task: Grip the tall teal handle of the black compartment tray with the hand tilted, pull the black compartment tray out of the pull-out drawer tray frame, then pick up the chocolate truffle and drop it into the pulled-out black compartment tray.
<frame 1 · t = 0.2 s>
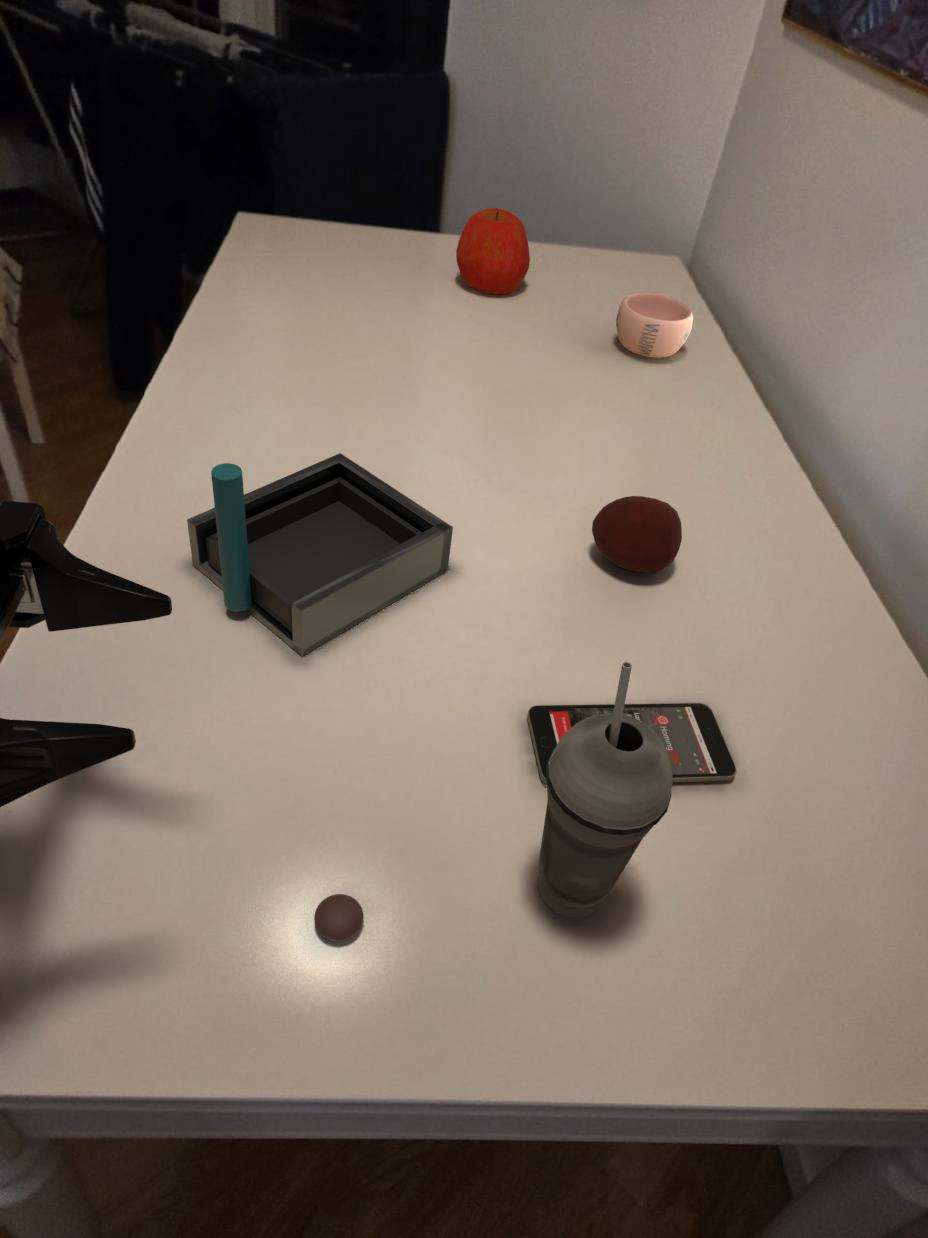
hand: (154, 667, 44), 18 cm above the table, tool horizontal, fingers open, 9 cm apart
chocolate truffle: (338, 925, 55), on the table
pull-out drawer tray: (322, 567, 79), on the table
potato: (627, 562, 85), on the table
apple: (489, 285, 131), on the table
beverage cup: (570, 887, 58), on the table
smartphone: (628, 747, 68), on the table
black compartment tray: (307, 506, 73), point 8 cm above the table, slide at 0.0 cm
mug: (646, 346, 121), on the table
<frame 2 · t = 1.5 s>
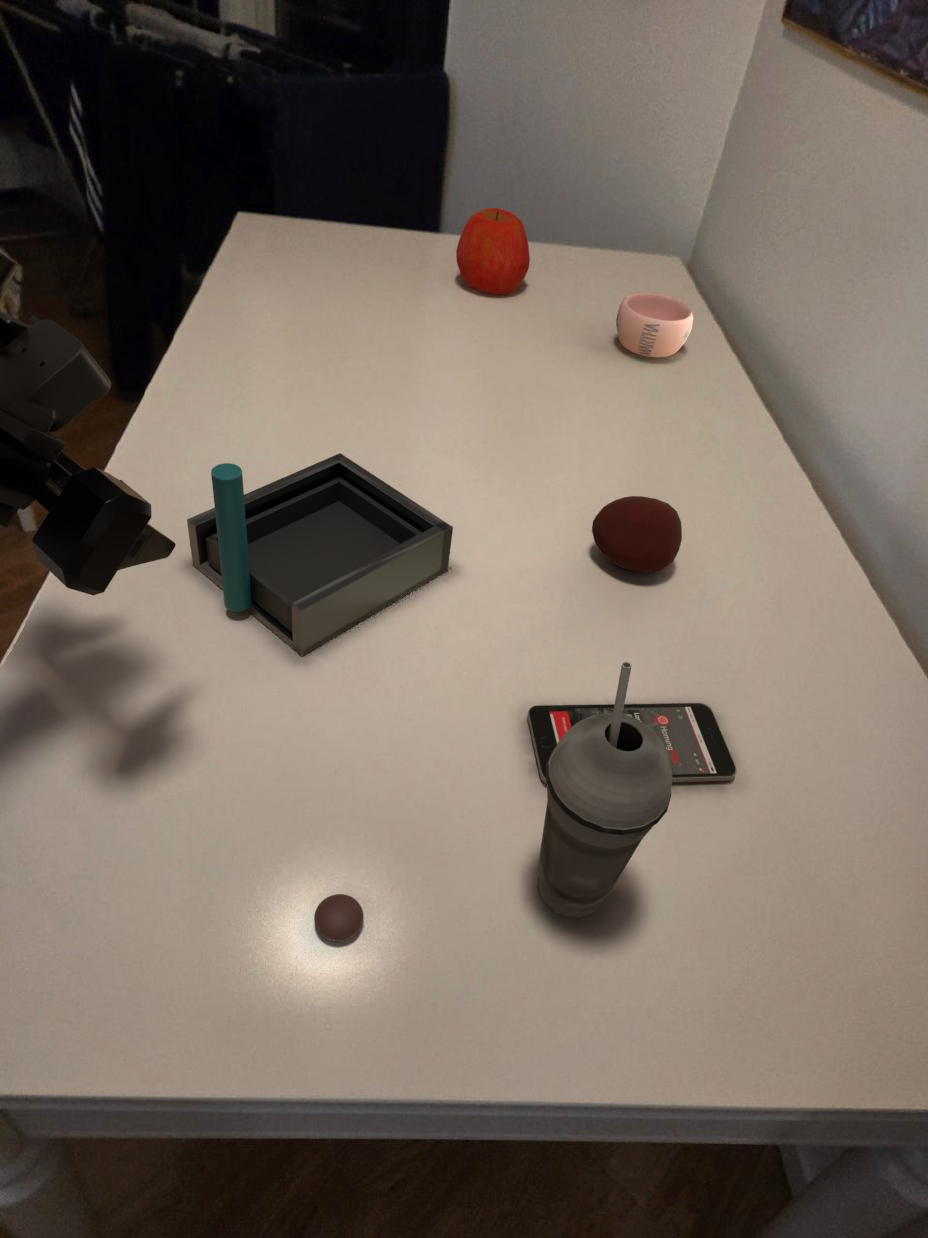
hand: (132, 517, 60), 13 cm above the table, tool tilted 45°, fingers open, 9 cm apart
nothing on the table moved.
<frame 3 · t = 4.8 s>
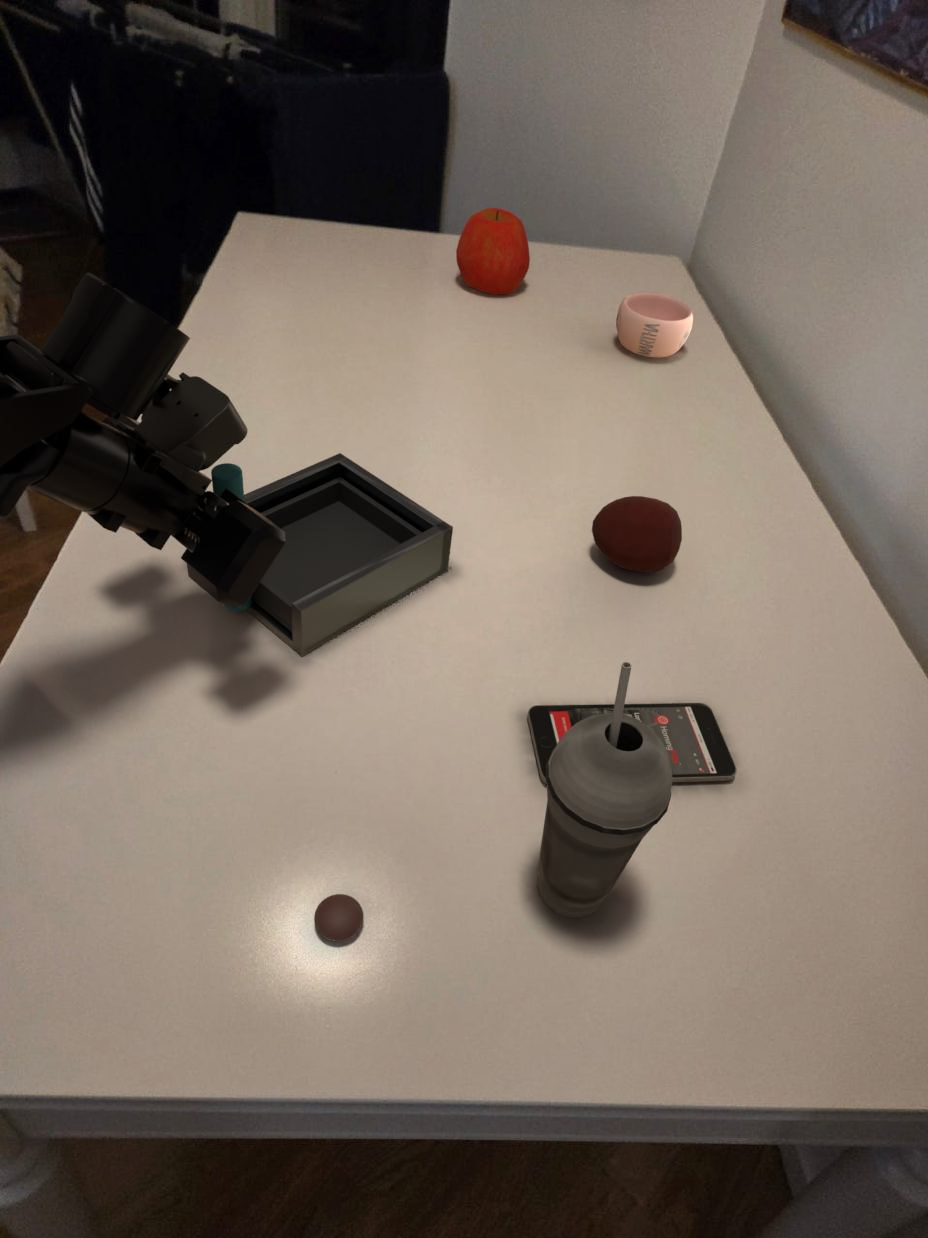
hand: (247, 538, 70), 7 cm above the table, tool tilted 45°, fingers closed on black compartment tray, 2 cm apart
black compartment tray: (307, 506, 73), point 8 cm above the table, slide at 0.0 cm, touching gripper
everything else where it was.
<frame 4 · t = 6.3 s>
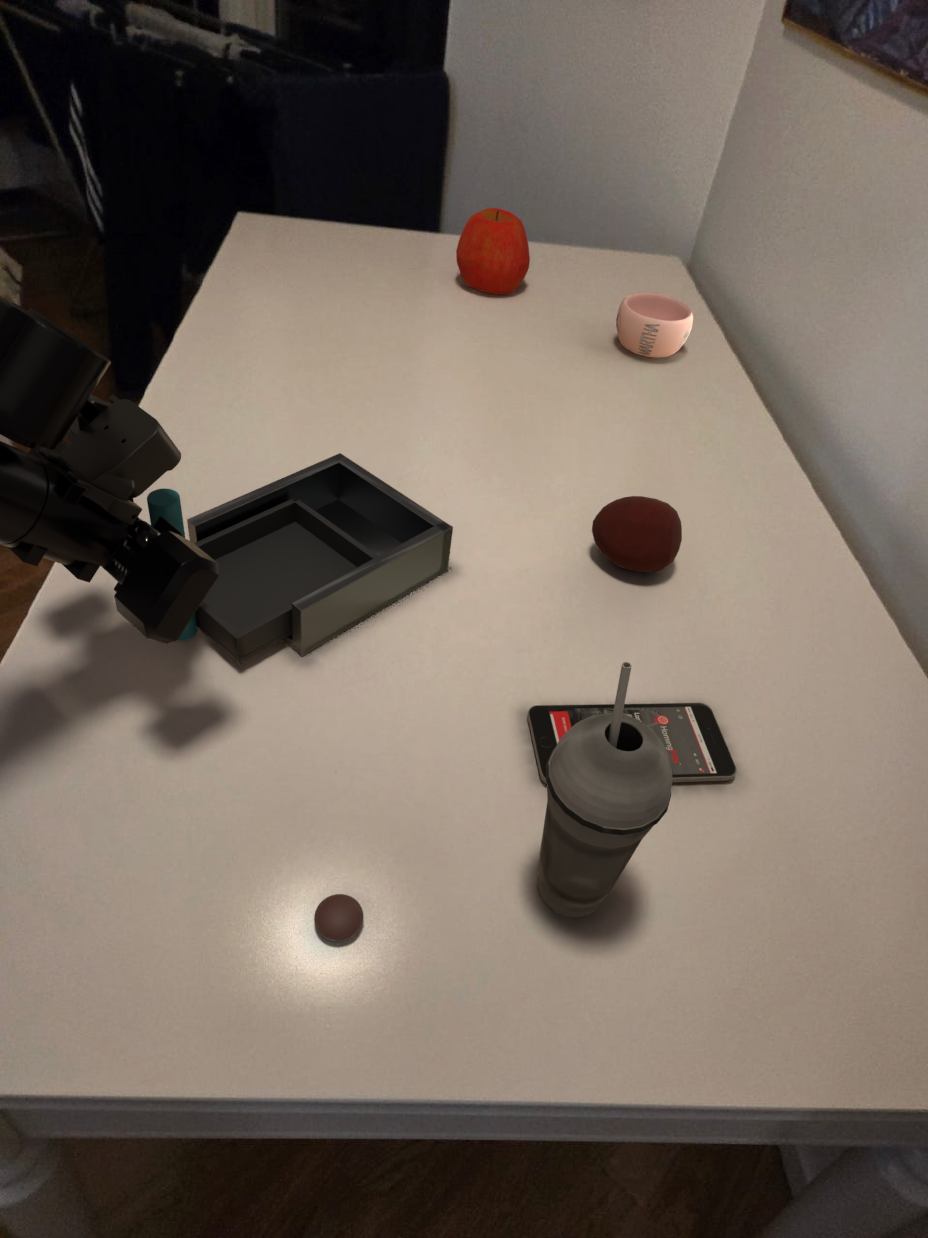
hand: (190, 565, 67), 7 cm above the table, tool tilted 45°, fingers closed on black compartment tray, 2 cm apart
black compartment tray: (256, 530, 70), point 8 cm above the table, slide at 5.3 cm, touching gripper
everything else where it was.
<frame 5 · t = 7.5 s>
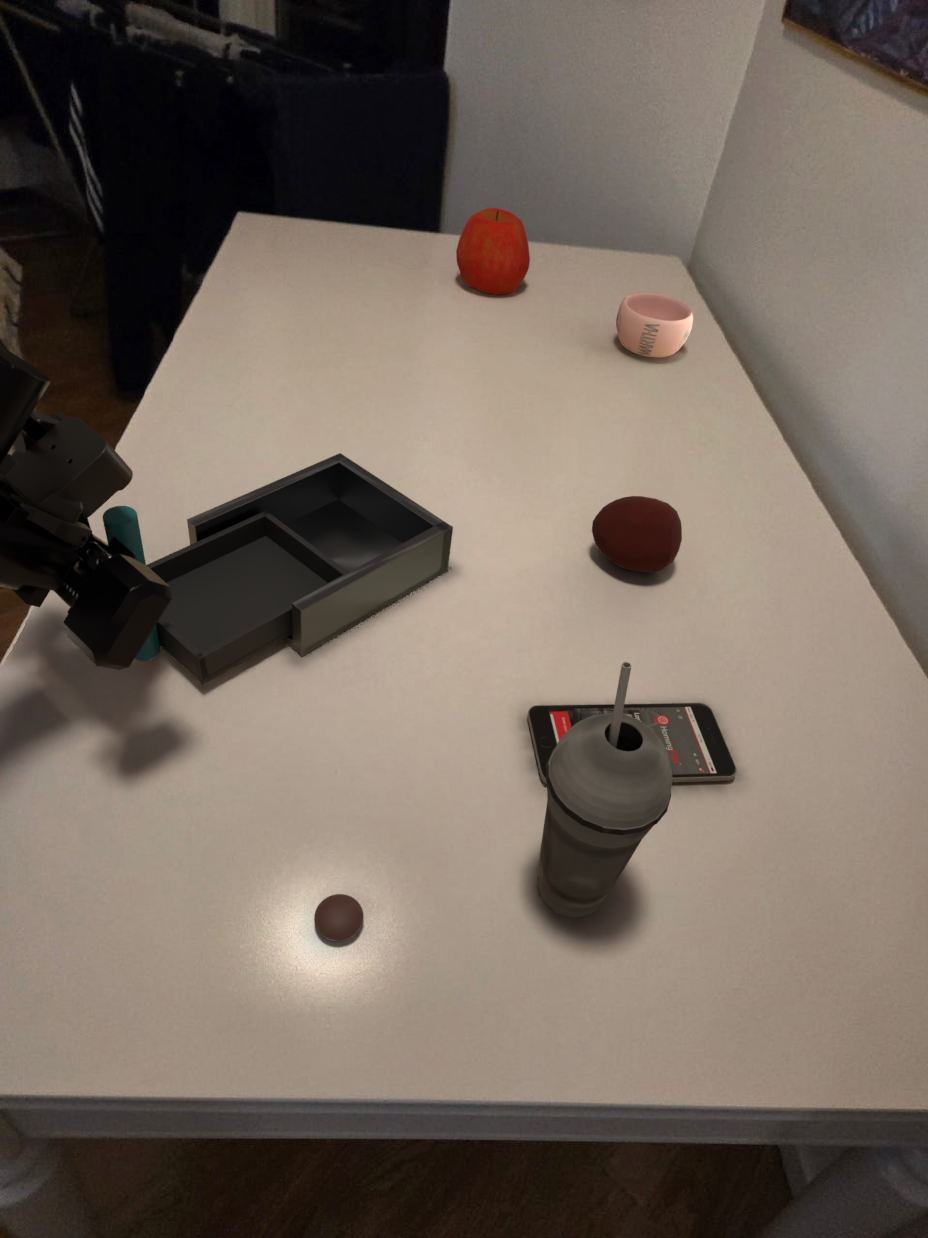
hand: (151, 584, 65), 7 cm above the table, tool tilted 45°, fingers closed on black compartment tray, 2 cm apart
black compartment tray: (220, 546, 68), point 8 cm above the table, slide at 8.6 cm, touching gripper
everything else where it was.
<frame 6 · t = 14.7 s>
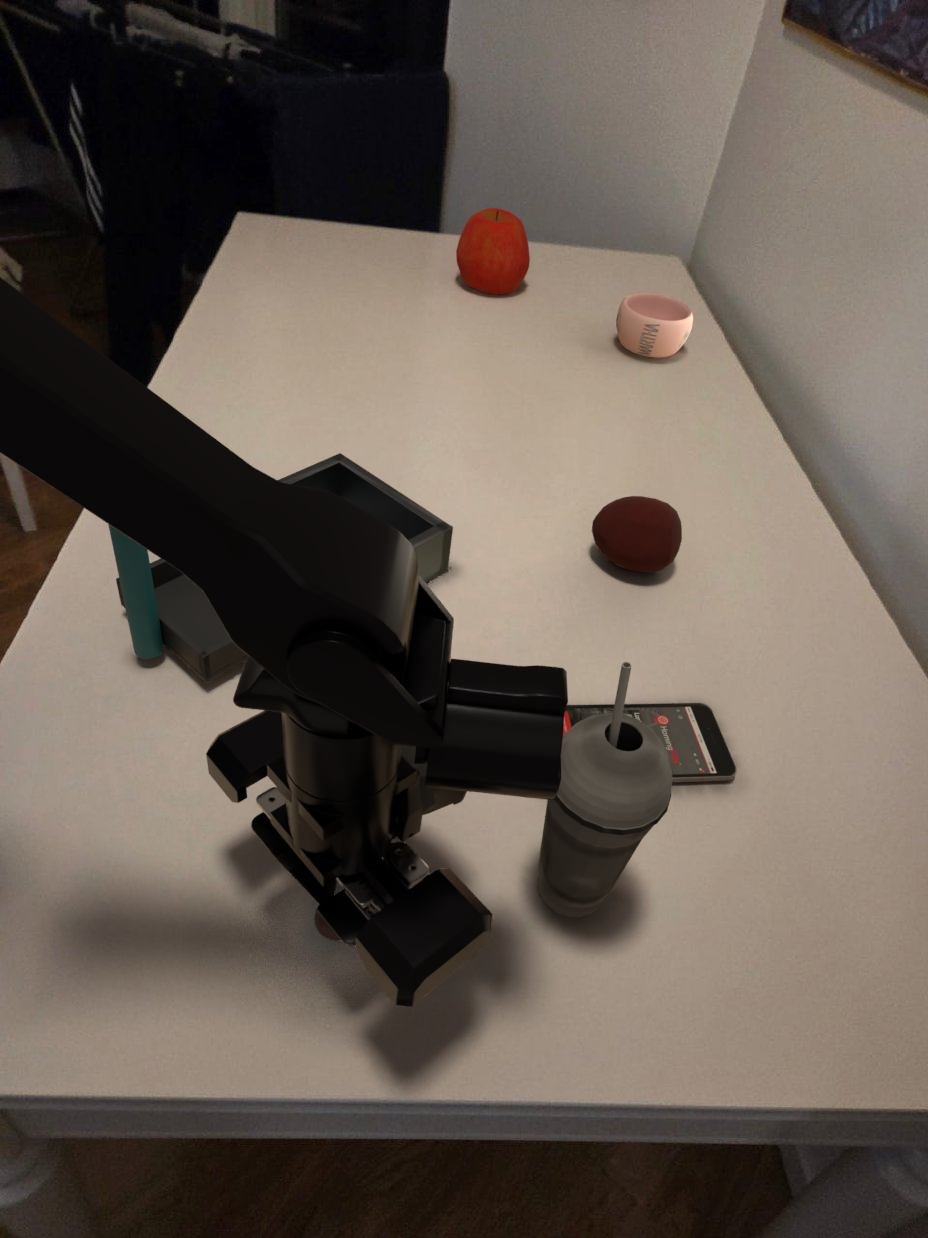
hand: (339, 915, 54), 1 cm above the table, tool pointing down, fingers closed on chocolate truffle, 2 cm apart
chocolate truffle: (338, 925, 55), on the table, touching gripper
black compartment tray: (224, 545, 68), point 8 cm above the table, slide at 8.3 cm
everything else where it was.
when the fingers open (3 cm above the table, at t = 21.0 s): chocolate truffle stays where it is, resting on black compartment tray.
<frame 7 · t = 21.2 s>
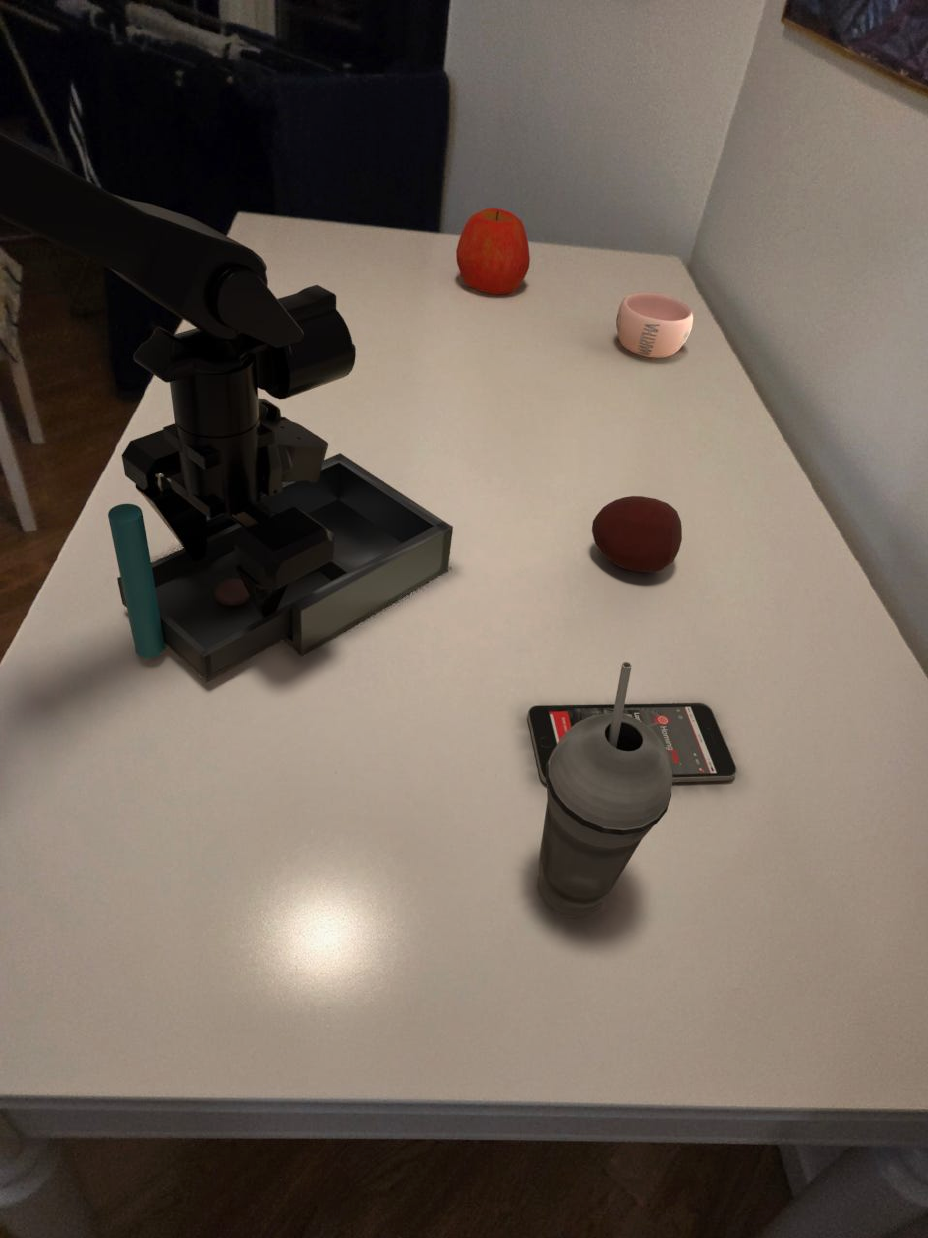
hand: (232, 586, 72), 3 cm above the table, tool pointing down, fingers open, 9 cm apart
chocolate truffle: (234, 601, 73), point 1 cm above the table, touching black compartment tray
black compartment tray: (225, 544, 69), point 8 cm above the table, slide at 8.2 cm, touching chocolate truffle
everything else where it was.
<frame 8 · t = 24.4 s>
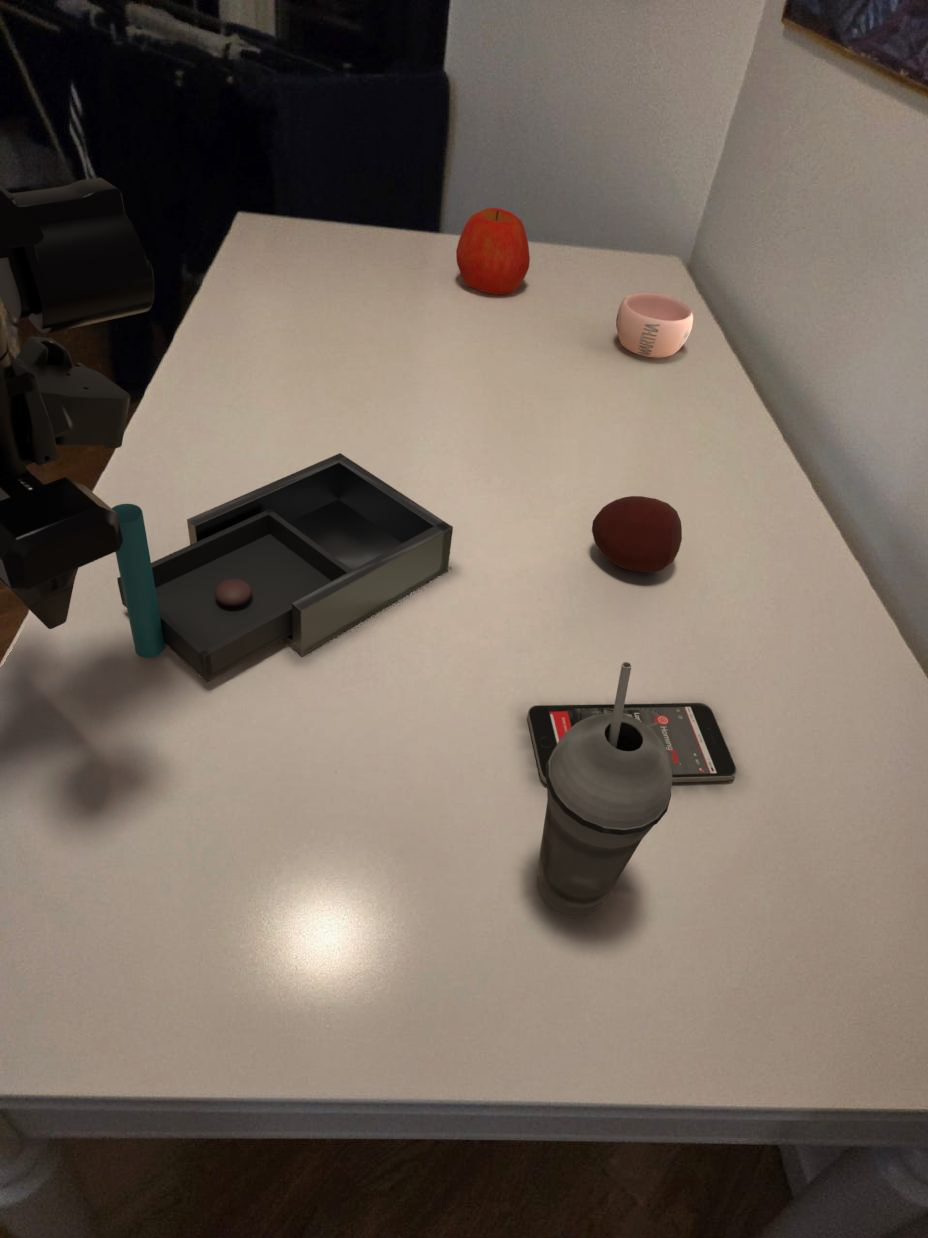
hand: (18, 585, 55), 13 cm above the table, tool pointing down, fingers open, 9 cm apart
nothing on the table moved.
at the end: black compartment tray slide at 8.2 cm; chocolate truffle inside the target area on the table beside the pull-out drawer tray (0.1 cm from its centre), point 1.4 cm above the table; the gripper is holding nothing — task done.
